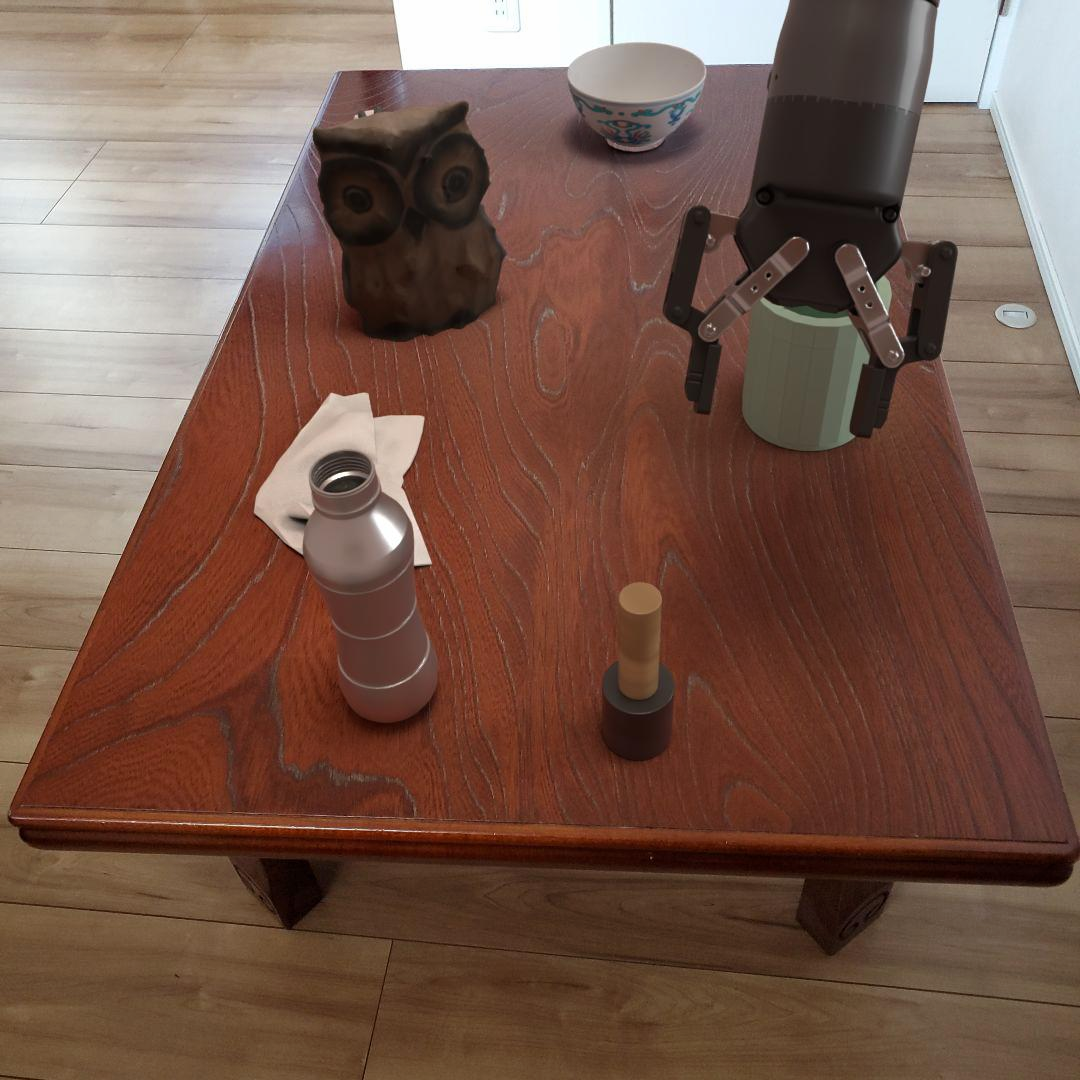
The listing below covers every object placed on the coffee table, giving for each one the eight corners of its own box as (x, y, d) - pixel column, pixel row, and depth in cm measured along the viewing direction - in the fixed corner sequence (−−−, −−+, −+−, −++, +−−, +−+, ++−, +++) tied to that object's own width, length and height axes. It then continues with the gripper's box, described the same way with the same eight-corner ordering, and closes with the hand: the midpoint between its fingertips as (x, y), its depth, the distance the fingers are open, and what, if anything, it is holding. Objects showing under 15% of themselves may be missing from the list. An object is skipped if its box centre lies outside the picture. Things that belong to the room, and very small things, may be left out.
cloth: (271, 402, 97) (265, 381, 95) (430, 388, 97) (426, 367, 95) (237, 635, 79) (229, 614, 77) (432, 617, 79) (429, 596, 77)
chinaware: (542, 149, 126) (539, 81, 120) (618, 97, 134) (618, 31, 128) (654, 184, 119) (656, 114, 113) (727, 128, 127) (732, 60, 121)
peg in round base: (646, 692, 73) (650, 557, 64) (685, 740, 71) (695, 606, 61) (589, 722, 72) (585, 588, 63) (627, 772, 69) (628, 640, 60)
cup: (811, 360, 97) (830, 237, 88) (891, 422, 91) (920, 296, 82) (717, 400, 94) (727, 277, 85) (794, 467, 88) (813, 342, 79)
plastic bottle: (330, 727, 73) (260, 507, 58) (366, 646, 77) (308, 424, 63) (424, 744, 71) (376, 523, 57) (455, 661, 76) (417, 438, 62)
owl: (515, 299, 106) (498, 91, 91) (433, 370, 99) (402, 157, 84) (410, 263, 111) (379, 61, 96) (325, 328, 104) (279, 121, 89)
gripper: (709, 71, 52) (652, 416, 56) (1014, 115, 52) (933, 456, 56) (694, 91, 59) (644, 395, 63) (961, 129, 59) (893, 431, 63)
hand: (780, 424), depth 60 cm, fingers open, 8 cm apart
